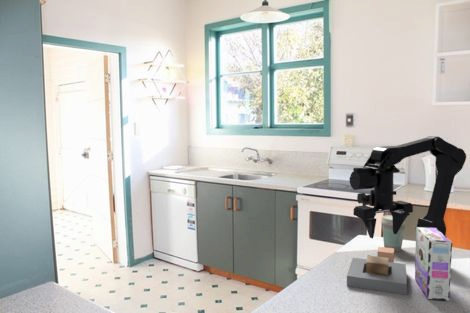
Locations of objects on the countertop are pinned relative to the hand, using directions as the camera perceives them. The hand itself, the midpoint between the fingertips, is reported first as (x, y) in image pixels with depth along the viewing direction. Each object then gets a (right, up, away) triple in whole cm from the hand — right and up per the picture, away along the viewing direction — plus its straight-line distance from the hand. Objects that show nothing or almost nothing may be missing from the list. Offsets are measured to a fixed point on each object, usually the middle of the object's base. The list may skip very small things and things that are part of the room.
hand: (383, 236), depth 122 cm
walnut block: (-4, -11, -5) cm, 13 cm away
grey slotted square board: (-4, -12, -5) cm, 14 cm away
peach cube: (+4, -11, +7) cm, 14 cm away
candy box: (+9, -13, -12) cm, 20 cm away
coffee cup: (+12, -10, +22) cm, 27 cm away
